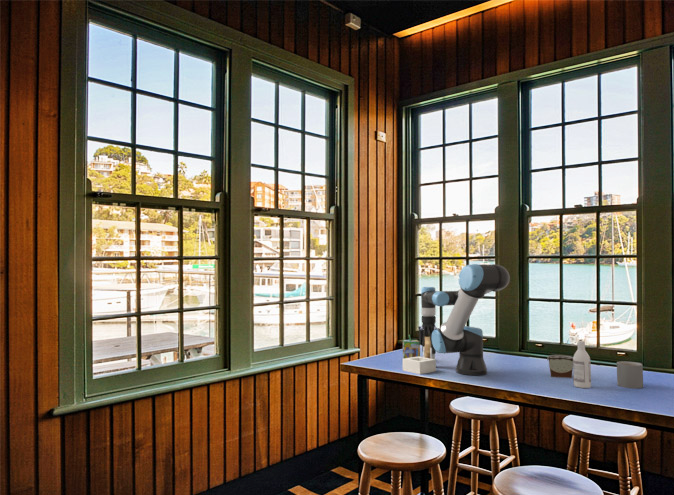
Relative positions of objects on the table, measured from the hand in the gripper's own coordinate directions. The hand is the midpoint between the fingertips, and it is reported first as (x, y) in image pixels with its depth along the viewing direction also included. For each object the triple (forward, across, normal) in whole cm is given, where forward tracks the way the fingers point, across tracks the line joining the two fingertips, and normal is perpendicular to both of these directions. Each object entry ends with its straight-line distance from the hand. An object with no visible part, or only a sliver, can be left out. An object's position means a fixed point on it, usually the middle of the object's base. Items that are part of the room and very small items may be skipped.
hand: (429, 359), depth 260 cm
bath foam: (+4, -72, -20) cm, 75 cm away
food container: (+4, -55, -33) cm, 64 cm away
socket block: (+4, -4, +12) cm, 13 cm away
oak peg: (+4, 0, 0) cm, 4 cm away
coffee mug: (+4, -84, -40) cm, 93 cm away
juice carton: (+4, +19, -6) cm, 20 cm away
